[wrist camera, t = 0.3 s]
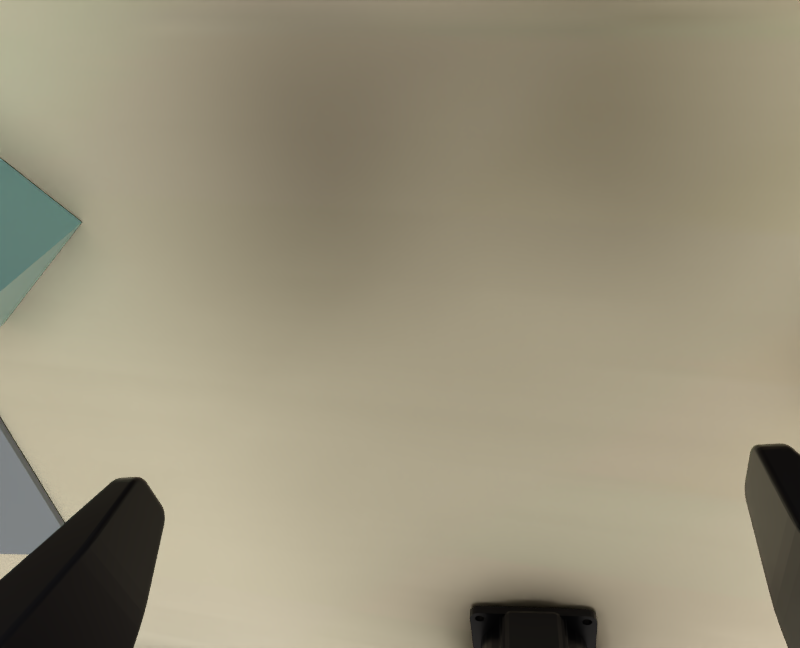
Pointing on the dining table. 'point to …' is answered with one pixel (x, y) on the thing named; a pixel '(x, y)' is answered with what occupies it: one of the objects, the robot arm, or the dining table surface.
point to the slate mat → (22, 502)
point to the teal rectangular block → (27, 236)
